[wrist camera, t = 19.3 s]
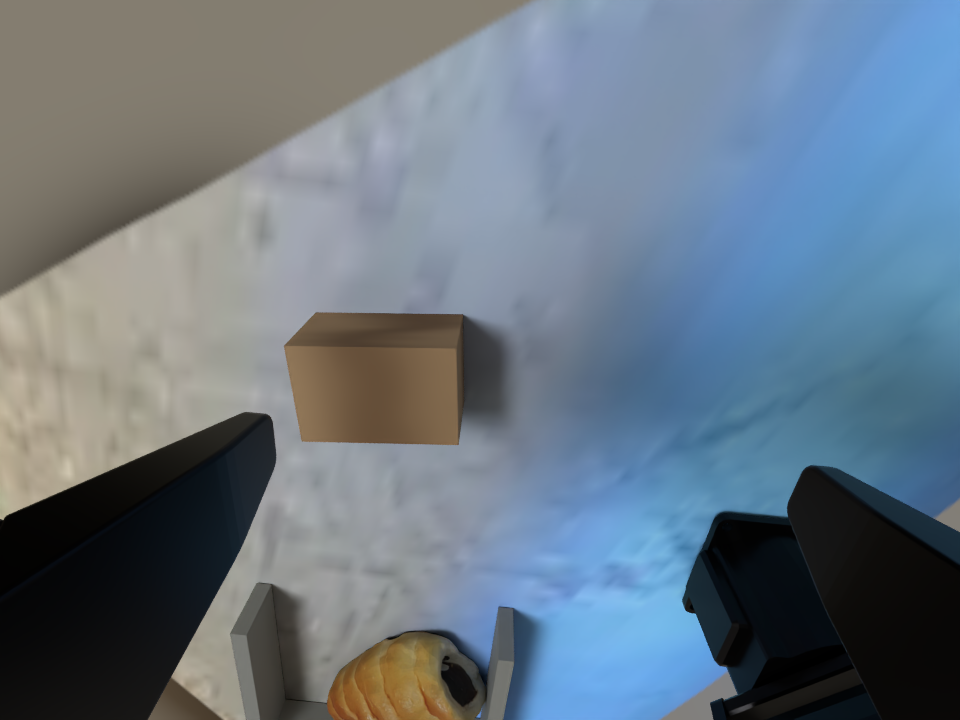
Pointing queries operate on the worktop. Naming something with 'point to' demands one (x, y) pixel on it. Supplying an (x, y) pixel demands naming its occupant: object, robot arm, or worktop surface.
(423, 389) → the cardboard brown box
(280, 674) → the bay
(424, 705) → the pastry
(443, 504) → the worktop surface
